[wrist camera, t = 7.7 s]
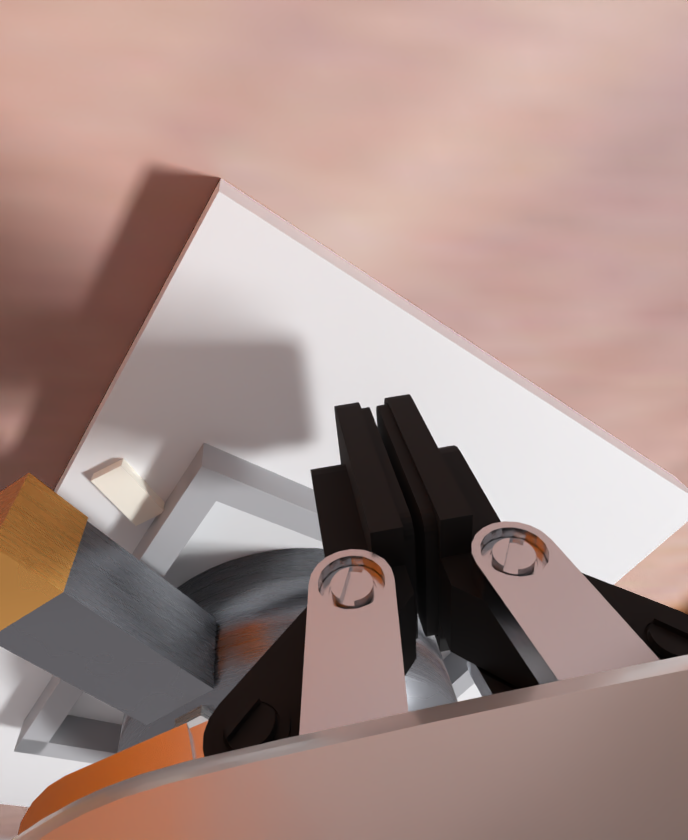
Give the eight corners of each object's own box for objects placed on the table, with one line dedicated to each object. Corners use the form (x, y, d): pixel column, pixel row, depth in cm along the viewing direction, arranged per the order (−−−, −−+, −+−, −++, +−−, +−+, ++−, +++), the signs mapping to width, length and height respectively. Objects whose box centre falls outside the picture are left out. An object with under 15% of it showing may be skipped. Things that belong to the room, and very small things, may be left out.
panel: (674, 476, 20) (728, 526, 18) (312, 803, 28) (318, 863, 26) (220, 177, 12) (217, 201, 10) (-83, 746, 21) (-120, 824, 19)
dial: (472, 653, 21) (520, 773, 17) (257, 762, 23) (260, 892, 19) (187, 331, 12) (167, 436, 9) (-124, 544, 14) (-246, 705, 10)
